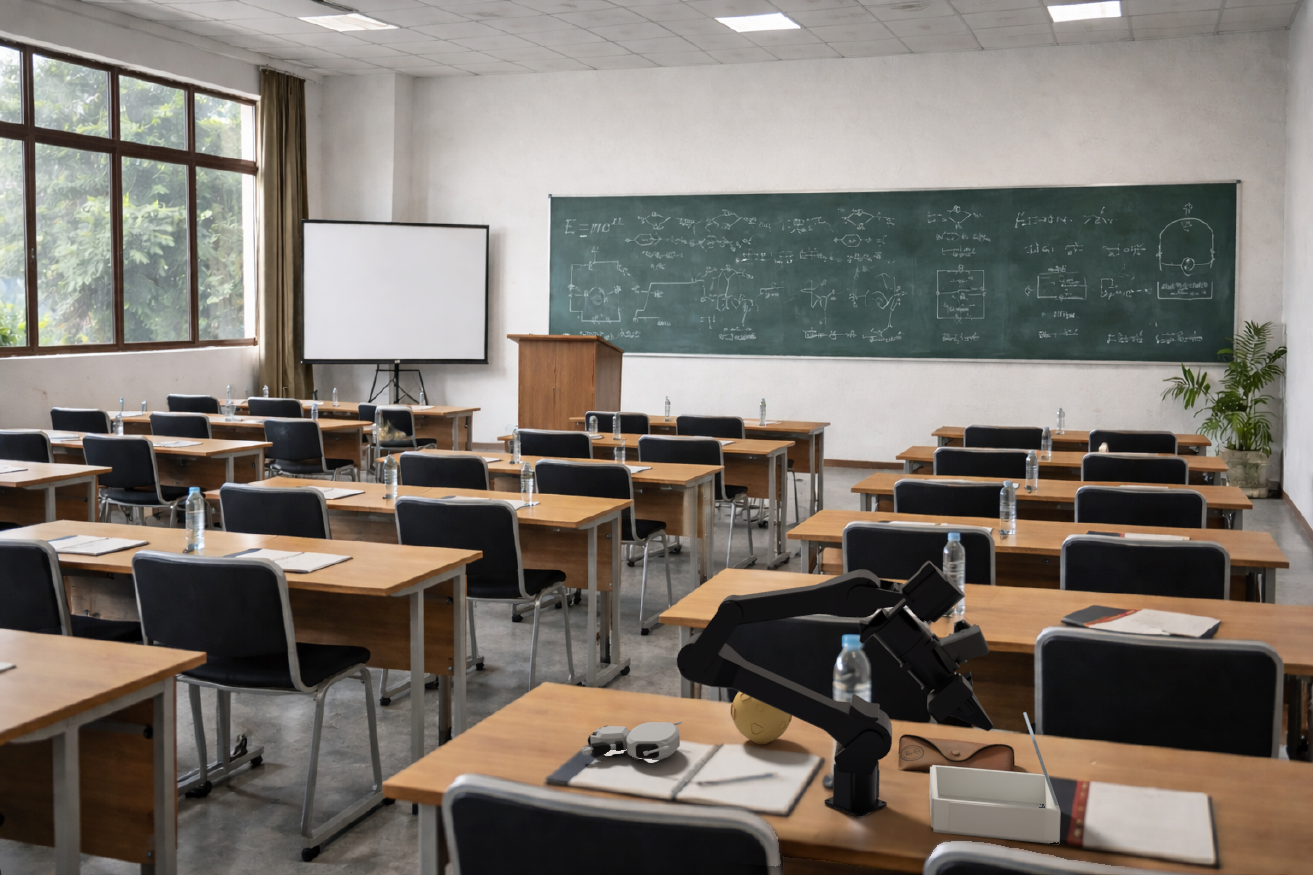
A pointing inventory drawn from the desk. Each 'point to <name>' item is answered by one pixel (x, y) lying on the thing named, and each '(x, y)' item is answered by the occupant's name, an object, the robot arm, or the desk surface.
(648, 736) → the robot toy
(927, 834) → the desk surface
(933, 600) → the robot arm
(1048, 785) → the flap
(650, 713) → the desk surface
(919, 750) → the sunglasses case
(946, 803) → the carton
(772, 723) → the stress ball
